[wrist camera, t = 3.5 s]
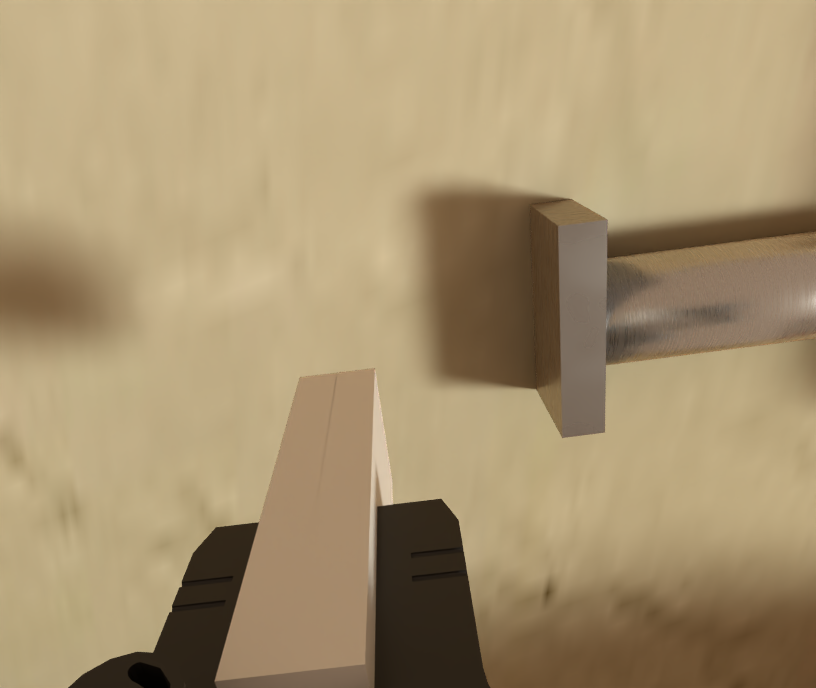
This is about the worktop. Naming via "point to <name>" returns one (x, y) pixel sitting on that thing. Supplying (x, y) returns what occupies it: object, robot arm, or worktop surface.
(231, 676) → the robot arm
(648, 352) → the pin
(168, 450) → the worktop surface
